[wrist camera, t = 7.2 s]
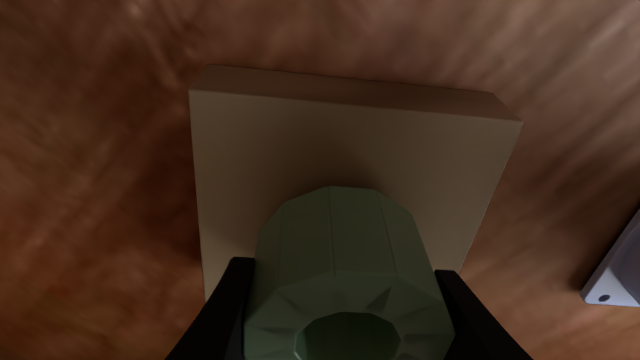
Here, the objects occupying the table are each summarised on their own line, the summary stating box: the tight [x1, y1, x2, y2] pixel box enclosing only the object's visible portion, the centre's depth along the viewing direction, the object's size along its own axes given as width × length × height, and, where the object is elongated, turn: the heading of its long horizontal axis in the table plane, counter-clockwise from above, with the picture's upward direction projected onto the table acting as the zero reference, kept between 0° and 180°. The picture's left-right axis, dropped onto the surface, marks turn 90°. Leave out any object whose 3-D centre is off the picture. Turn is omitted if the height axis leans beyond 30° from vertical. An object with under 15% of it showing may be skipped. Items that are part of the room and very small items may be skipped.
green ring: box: [243, 186, 455, 360], centre depth 12 cm, size 6×6×4 cm
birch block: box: [188, 64, 524, 304], centre depth 15 cm, size 10×10×2 cm
